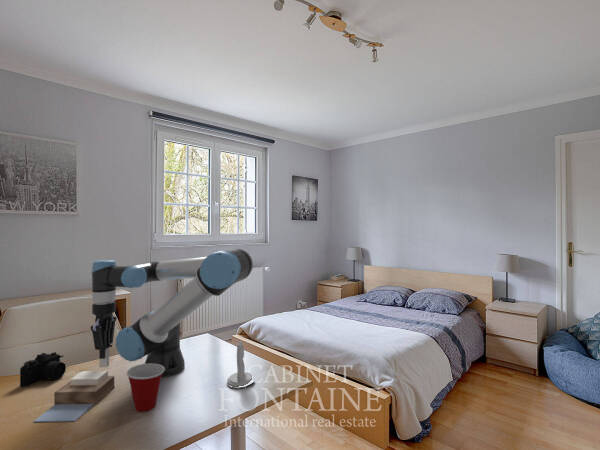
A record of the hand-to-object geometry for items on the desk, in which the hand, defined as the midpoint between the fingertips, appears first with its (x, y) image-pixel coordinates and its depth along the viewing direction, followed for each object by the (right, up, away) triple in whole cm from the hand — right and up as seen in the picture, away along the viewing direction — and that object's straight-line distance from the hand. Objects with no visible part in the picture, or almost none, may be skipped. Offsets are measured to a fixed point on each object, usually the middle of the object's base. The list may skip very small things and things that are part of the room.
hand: (104, 366), depth 122 cm
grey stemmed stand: (+51, -5, -2) cm, 51 cm away
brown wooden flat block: (0, -5, -11) cm, 12 cm away
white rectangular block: (0, -1, -9) cm, 9 cm away
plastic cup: (+24, -5, -18) cm, 31 cm away
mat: (+1, -5, -21) cm, 22 cm away
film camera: (-22, -6, +2) cm, 23 cm away
